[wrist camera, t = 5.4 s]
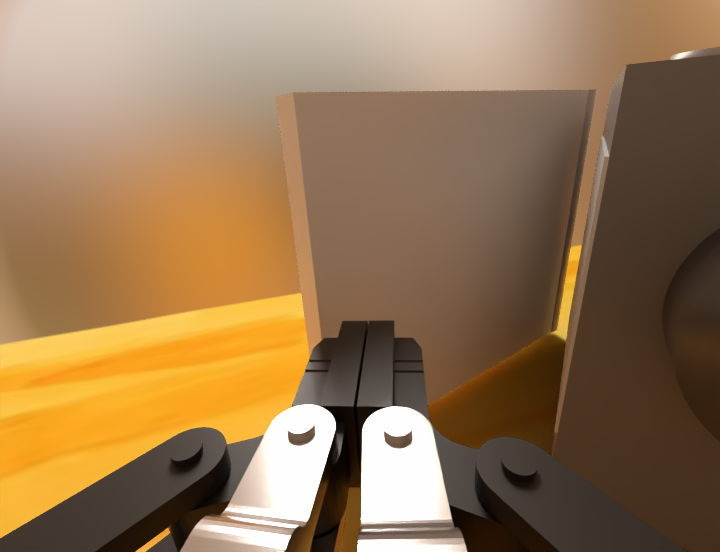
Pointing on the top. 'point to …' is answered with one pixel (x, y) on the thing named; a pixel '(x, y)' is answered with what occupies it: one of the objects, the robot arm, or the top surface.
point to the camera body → (651, 305)
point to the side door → (436, 216)
